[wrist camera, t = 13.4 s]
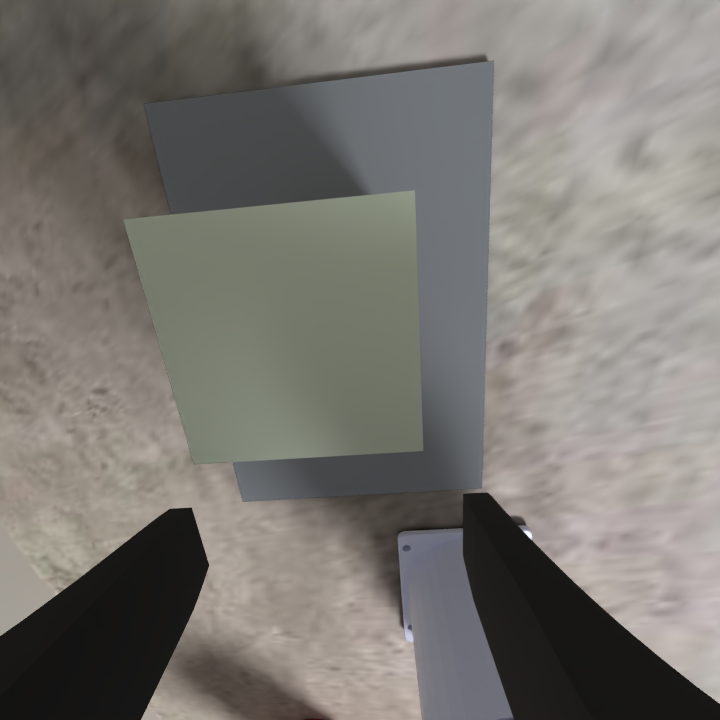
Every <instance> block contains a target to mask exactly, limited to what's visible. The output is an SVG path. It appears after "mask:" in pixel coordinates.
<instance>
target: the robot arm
mask: <svg viewBox="0 0 720 720" xmlns="http://www.w3.org/2000/svg"><path fill="white" fill-rule="evenodd" d="M405 545H409V546H405ZM398 552H399V566H400V579H401V593H402V607H403V621H404V634H405V639H406V640H407V641H409V642H414V650H415V660H416V669H417V678H418V687H419V696H420V705H421V715H422V720H720V704H719V703H718V702H716V701H715V700H714V699H712V698H711V697H710V696H708V695H707V694H706V693H704V692H703V691H702V690H700V689H699V688H698V687H696V686H695V685H694V684H692V683H691V682H690V681H689V680H687V679H686V678H685V677H684V676H682V675H681V674H680V673H679V672H677V671H676V670H675V669H674V668H672V667H671V666H670V665H669V664H667V663H666V662H665V661H664V660H662V659H661V658H660V657H659V656H657V655H656V654H655V653H654V652H653V651H651V650H650V649H649V648H648V647H647V646H645V645H644V644H643V643H642V642H641V641H639V640H638V639H637V638H636V637H635V636H633V635H632V634H631V633H630V632H629V631H628V630H626V629H625V628H624V627H623V626H622V625H621V624H620V623H618V622H617V621H616V620H615V619H614V618H613V617H612V616H610V615H609V614H608V613H607V612H606V611H605V610H604V609H603V608H601V607H600V606H599V605H598V604H597V603H596V602H595V601H594V600H593V599H592V598H591V597H589V596H588V595H587V594H586V593H585V592H584V591H583V590H582V589H581V588H580V587H579V586H578V585H576V584H575V583H574V582H573V581H572V580H571V579H570V578H569V577H568V576H567V575H566V574H565V573H564V572H563V571H562V570H561V569H560V568H559V567H558V566H557V565H556V564H555V563H554V562H553V561H552V560H551V559H550V558H549V557H548V556H547V555H546V554H545V553H544V552H543V551H542V550H541V549H540V548H539V547H538V546H537V545H536V544H535V543H534V542H533V541H532V532H531V530H530V529H529V528H528V527H527V526H523V525H519V526H518V525H517V524H516V523H515V522H514V521H513V520H512V518H511V517H510V516H509V515H508V514H507V513H506V512H505V511H504V510H503V508H502V507H501V506H500V505H499V504H498V503H497V502H496V501H495V499H494V498H493V497H492V496H491V495H490V494H489V493H471V494H463V528H459V529H439V530H419V531H404V532H401V533H399V535H398ZM208 567H209V563H208V560H207V557H206V554H205V550H204V547H203V544H202V540H201V537H200V534H199V530H198V527H197V524H196V521H195V517H194V514H193V511H192V508H178V509H169V510H168V511H166V512H165V513H163V514H162V515H161V516H159V517H158V518H156V519H155V520H154V521H152V522H151V523H150V524H149V525H147V526H146V527H145V528H143V529H142V530H141V531H140V532H138V533H137V534H136V535H134V536H133V537H132V538H131V539H129V540H128V541H127V542H125V543H124V544H123V545H122V546H120V547H119V548H118V549H117V550H115V551H114V552H113V553H111V554H110V555H109V556H108V557H106V558H105V559H104V560H102V561H101V562H100V563H99V564H97V565H96V566H95V567H93V568H92V569H91V570H90V571H88V572H87V573H86V574H85V575H83V576H82V577H81V578H79V579H78V580H77V581H75V582H74V583H73V584H71V585H70V586H69V587H67V588H66V589H65V590H63V591H62V592H60V593H59V594H58V595H56V596H55V597H54V598H52V599H51V600H50V601H48V602H47V603H46V604H44V605H43V606H42V607H40V608H39V609H37V610H36V611H35V612H33V613H32V614H31V615H29V616H28V617H27V618H25V619H24V620H23V621H21V622H20V623H18V624H17V625H15V626H14V627H13V628H11V629H10V630H8V631H7V632H6V633H4V634H3V635H1V636H0V720H141V718H142V716H143V714H144V712H145V710H146V708H147V706H148V704H149V702H150V700H151V698H152V696H153V694H154V691H155V689H156V687H157V685H158V683H159V681H160V679H161V677H162V675H163V673H164V671H165V669H166V667H167V665H168V662H169V660H170V658H171V656H172V654H173V652H174V650H175V648H176V646H177V644H178V642H179V640H180V637H181V635H182V633H183V631H184V629H185V627H186V625H187V623H188V621H189V618H190V616H191V614H192V612H193V610H194V607H195V605H196V602H197V599H198V596H199V594H200V591H201V588H202V585H203V582H204V579H205V576H206V573H207V570H208Z"/></svg>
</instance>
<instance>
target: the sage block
mask: <svg viewBox="0 0 720 720" xmlns="http://www.w3.org/2000/svg"><path fill="white" fill-rule="evenodd" d="M123 221H124V224H125V228H126V231H127V235H128V238H129V242H130V245H131V248H132V252H133V255H134V259H135V262H136V266H137V269H138V273H139V276H140V280H141V283H142V287H143V290H144V293H145V297H146V300H147V304H148V307H149V311H150V314H151V318H152V321H153V325H154V328H155V332H156V335H157V338H158V342H159V345H160V349H161V352H162V356H163V359H164V363H165V366H166V370H167V373H168V377H169V380H170V384H171V387H172V390H173V394H174V397H175V401H176V404H177V408H178V411H179V415H180V418H181V422H182V425H183V429H184V432H185V435H186V439H187V442H188V446H189V449H190V453H191V456H192V460H193V463H194V464H211V463H228V462H245V461H262V460H279V459H296V458H313V457H330V456H347V455H364V454H380V453H397V452H414V451H423V424H422V393H421V362H420V331H419V300H418V269H417V238H416V207H415V190H413V191H403V192H393V193H383V194H373V195H363V196H353V197H343V198H333V199H323V200H313V201H303V202H293V203H283V204H273V205H263V206H253V207H243V208H233V209H222V210H212V211H202V212H192V213H182V214H172V215H162V216H152V217H142V218H132V219H123Z"/></svg>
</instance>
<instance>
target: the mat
mask: <svg viewBox="0 0 720 720" xmlns="http://www.w3.org/2000/svg"><path fill="white" fill-rule="evenodd" d="M493 79H494V61H487V62H479V63H471V64H463V65H454V66H446V67H438V68H430V69H422V70H414V71H406V72H398V73H390V74H381V75H373V76H365V77H357V78H349V79H341V80H333V81H325V82H317V83H308V84H300V85H292V86H284V87H276V88H268V89H260V90H252V91H244V92H236V93H227V94H219V95H211V96H203V97H195V98H187V99H179V100H171V101H163V102H154V103H146V104H144V108H145V112H146V116H147V120H148V124H149V128H150V132H151V136H152V140H153V144H154V148H155V152H156V156H157V160H158V164H159V168H160V172H161V176H162V180H163V184H164V188H165V192H166V196H167V200H168V204H169V208H170V212H171V215H172V214H182V213H192V212H202V211H212V210H222V209H233V208H243V207H253V206H263V205H273V204H283V203H293V202H303V201H313V200H323V199H333V198H343V197H353V196H363V195H373V194H383V193H393V192H403V191H413V190H415V207H416V238H417V269H418V300H419V331H420V362H421V393H422V424H423V451H414V452H397V453H380V454H364V455H347V456H330V457H313V458H296V459H279V460H262V461H245V462H233V465H234V469H235V473H236V477H237V481H238V485H239V489H240V493H241V497H242V501H243V502H248V501H266V500H284V499H302V498H320V497H338V496H355V495H373V494H391V493H409V492H427V491H445V490H462V489H480V488H482V465H483V430H484V395H485V360H486V325H487V290H488V254H489V219H490V184H491V149H492V114H493Z"/></svg>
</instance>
